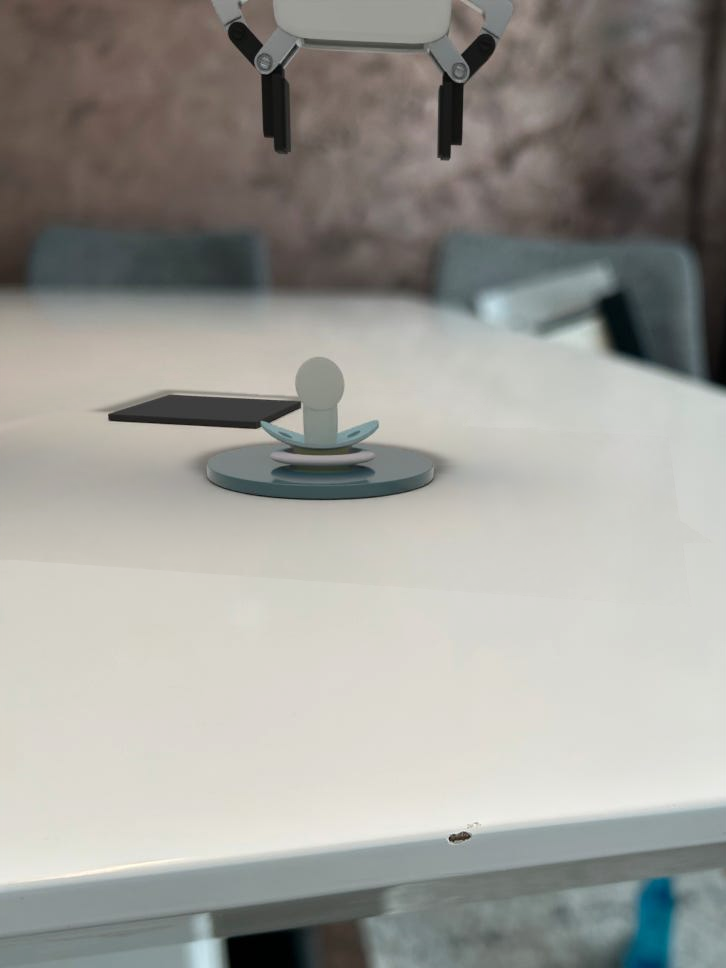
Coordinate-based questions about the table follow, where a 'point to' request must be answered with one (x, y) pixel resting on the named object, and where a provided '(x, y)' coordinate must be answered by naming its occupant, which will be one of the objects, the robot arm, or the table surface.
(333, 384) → the pacifier
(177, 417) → the mat
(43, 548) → the table surface
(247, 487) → the plate
